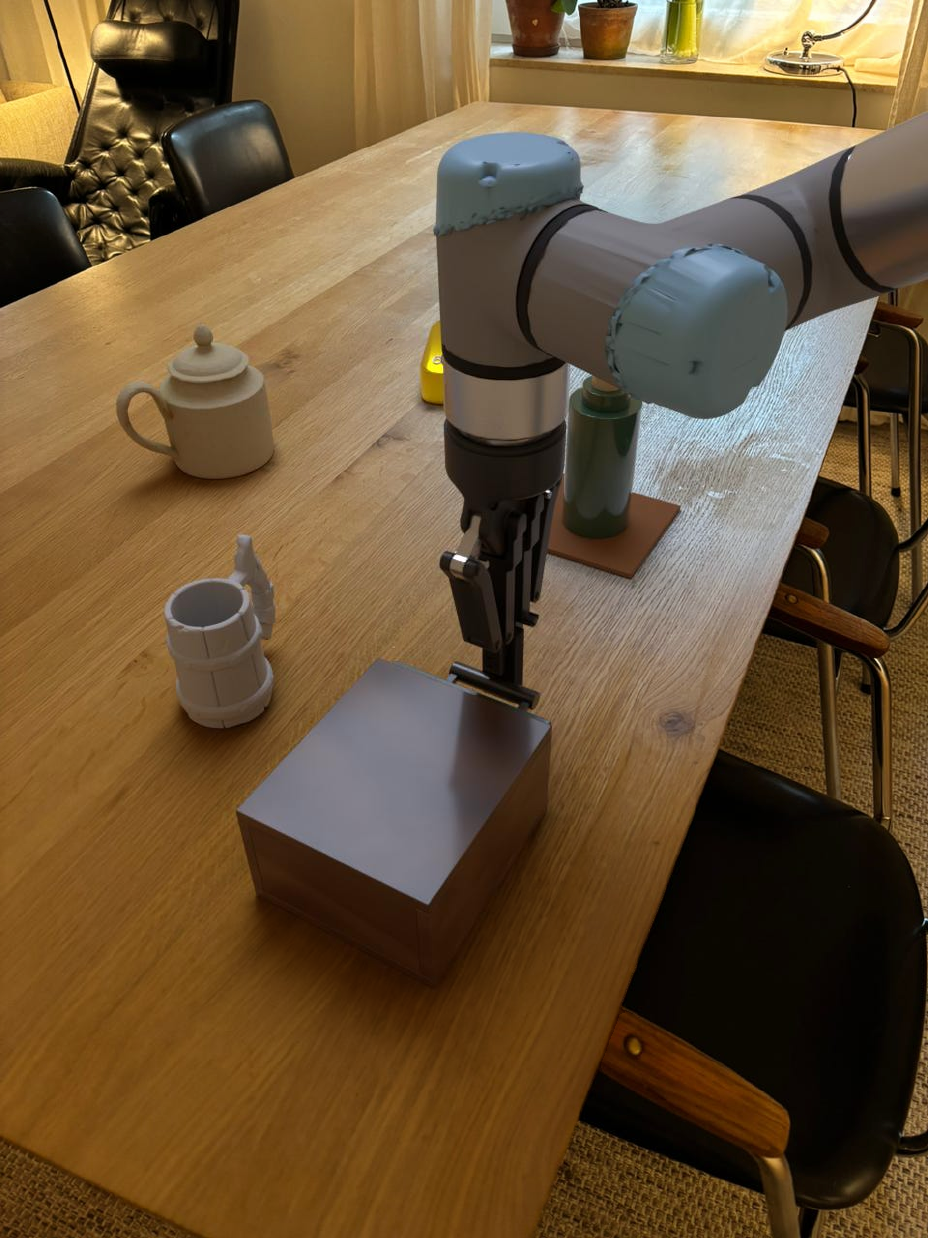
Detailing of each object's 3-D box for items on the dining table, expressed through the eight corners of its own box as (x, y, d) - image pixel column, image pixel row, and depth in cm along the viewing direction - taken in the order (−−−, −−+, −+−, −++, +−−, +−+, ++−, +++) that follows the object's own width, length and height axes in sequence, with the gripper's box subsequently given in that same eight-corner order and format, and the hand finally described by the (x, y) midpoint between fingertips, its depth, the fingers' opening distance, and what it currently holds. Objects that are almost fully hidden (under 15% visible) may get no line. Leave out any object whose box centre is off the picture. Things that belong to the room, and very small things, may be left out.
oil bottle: (641, 516, 98) (663, 343, 87) (604, 547, 95) (622, 370, 83) (586, 493, 102) (600, 324, 90) (548, 522, 98) (557, 349, 86)
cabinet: (385, 741, 76) (377, 657, 71) (546, 810, 71) (552, 725, 65) (255, 895, 66) (234, 810, 60) (433, 989, 61) (428, 906, 55)
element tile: (549, 353, 128) (551, 317, 125) (545, 409, 116) (547, 371, 113) (434, 349, 129) (433, 314, 126) (419, 404, 118) (417, 367, 115)
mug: (161, 718, 79) (126, 600, 71) (238, 626, 87) (214, 512, 79) (244, 742, 76) (218, 624, 69) (316, 647, 85) (299, 531, 77)
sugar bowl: (213, 508, 101) (184, 372, 92) (129, 483, 105) (93, 350, 95) (294, 441, 111) (276, 312, 102) (215, 420, 115) (190, 294, 106)
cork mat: (679, 509, 100) (680, 505, 100) (630, 578, 92) (631, 574, 91) (563, 476, 105) (563, 472, 105) (506, 539, 97) (506, 535, 96)
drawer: (428, 692, 79) (424, 626, 75) (571, 749, 74) (577, 683, 70) (283, 863, 67) (269, 797, 62) (444, 946, 62) (441, 880, 57)
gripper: (501, 360, 66) (499, 627, 81) (395, 450, 57) (415, 729, 73) (605, 385, 63) (583, 657, 78) (509, 484, 54) (505, 767, 70)
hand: (502, 692), depth 76 cm, fingers closed
